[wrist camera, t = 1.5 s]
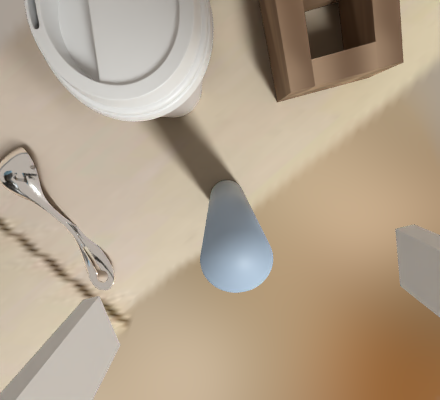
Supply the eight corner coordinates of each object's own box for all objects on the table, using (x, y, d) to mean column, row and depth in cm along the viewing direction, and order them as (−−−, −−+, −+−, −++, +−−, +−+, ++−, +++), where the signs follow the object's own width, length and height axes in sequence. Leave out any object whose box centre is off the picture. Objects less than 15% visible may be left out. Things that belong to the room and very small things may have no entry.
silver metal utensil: (116, 290, 27) (84, 308, 28) (129, 275, 31) (100, 291, 31) (7, 138, 24) (-27, 161, 25) (35, 140, 28) (5, 160, 28)
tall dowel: (215, 215, 29) (210, 299, 13) (206, 184, 28) (191, 236, 12) (246, 207, 29) (279, 283, 13) (239, 176, 28) (264, 218, 12)
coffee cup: (141, 21, 24) (21, -168, 9) (228, 57, 25) (242, -67, 10) (118, 114, 26) (-9, 76, 11) (199, 143, 27) (176, 144, 12)
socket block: (277, 102, 26) (291, 92, 21) (258, -1, 24) (268, -39, 19) (367, 77, 25) (403, 62, 20) (357, -30, 23) (394, -77, 18)
